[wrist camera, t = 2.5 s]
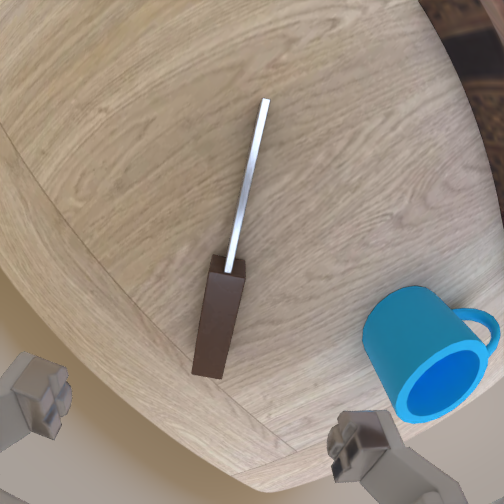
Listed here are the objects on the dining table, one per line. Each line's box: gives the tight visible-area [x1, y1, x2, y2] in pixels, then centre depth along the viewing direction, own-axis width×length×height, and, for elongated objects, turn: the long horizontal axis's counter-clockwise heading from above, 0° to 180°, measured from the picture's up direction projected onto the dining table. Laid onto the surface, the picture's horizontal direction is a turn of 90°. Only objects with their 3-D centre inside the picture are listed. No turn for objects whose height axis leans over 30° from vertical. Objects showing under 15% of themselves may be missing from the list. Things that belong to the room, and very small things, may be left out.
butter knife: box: [191, 98, 271, 379], centre depth 21 cm, size 2×20×3 cm, turn 168°
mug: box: [362, 286, 500, 424], centre depth 22 cm, size 12×8×8 cm
